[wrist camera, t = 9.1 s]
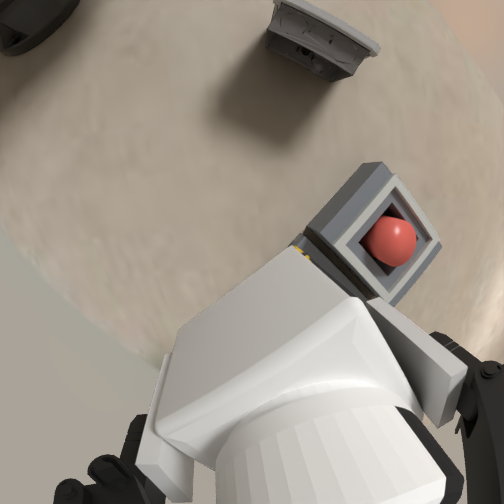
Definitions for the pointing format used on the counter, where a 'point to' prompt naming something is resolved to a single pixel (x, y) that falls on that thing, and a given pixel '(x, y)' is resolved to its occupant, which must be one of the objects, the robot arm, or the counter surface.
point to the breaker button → (390, 240)
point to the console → (360, 221)
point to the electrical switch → (317, 39)
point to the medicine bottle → (299, 398)
